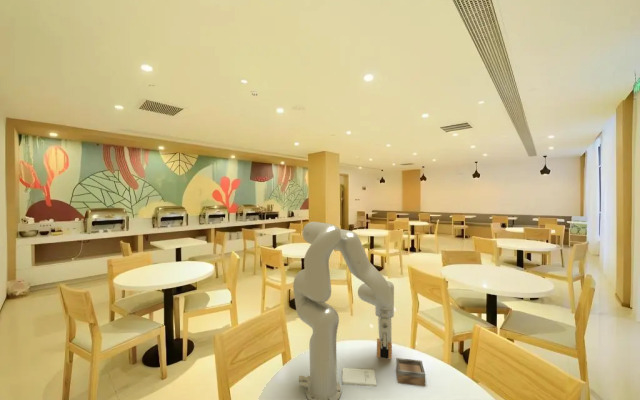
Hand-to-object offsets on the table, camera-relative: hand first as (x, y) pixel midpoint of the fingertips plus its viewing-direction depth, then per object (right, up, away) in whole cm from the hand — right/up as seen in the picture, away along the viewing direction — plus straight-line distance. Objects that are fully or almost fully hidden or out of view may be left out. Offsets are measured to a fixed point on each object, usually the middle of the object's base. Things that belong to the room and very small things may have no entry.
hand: (384, 353), depth 115 cm
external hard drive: (-12, -4, -11) cm, 17 cm away
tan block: (0, 0, 0) cm, 0 cm away
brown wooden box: (+7, -3, -11) cm, 14 cm away
